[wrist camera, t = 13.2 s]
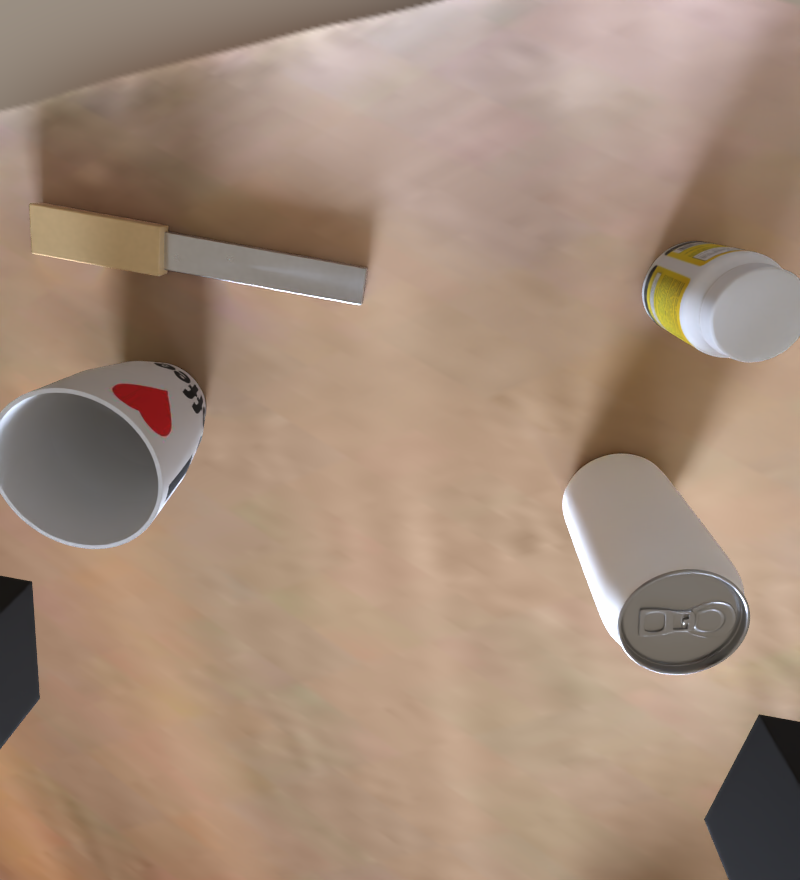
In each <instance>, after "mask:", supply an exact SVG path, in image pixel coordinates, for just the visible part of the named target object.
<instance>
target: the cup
mask: <svg viewBox="0 0 800 880" xmlns="http://www.w3.org/2000/svg"><path fill="white" fill-rule="evenodd" d="M205 414H206V403H205V398H204V395H203V392H202V390H201V388H200V387H199V385H198V384H197V382H196V381H195V380H194V379H193V378H192V377H191V376H190V375H189V374H188V373H187V372H185V371H184V370H182V369H181V368H179V367H177V366H174V365H171V364H168V363H161V362H146V361H129V362H124V363H119V364H114V365H109V366H104V367H99V368H94V369H89V370H85V371H82V372H79V373H77V374H74V375H72V376H69V377H67V378H64V379H62V380H59V381H57V382H54V383H52V384H49V385H47V386H44V387H42V388H39V389H36V390H34V391H31V392H29V393H26V394H24V395H22V396H20V397H18V398H16V399H15V400H13V401H12V402H11V403H9V404H8V405H7V406H6V407H5V408H4V409H3V410H2V412H1V413H0V493H1V495H2V496H3V498H4V499H5V501H6V502H7V503H8V505H9V506H10V507H11V508H12V510H13V511H14V512H15V513H16V514H17V515H18V516H19V517H20V518H21V519H22V520H23V521H25V522H26V523H27V524H28V525H30V526H31V527H32V528H34V529H35V530H37V531H38V532H40V533H41V534H43V535H45V536H47V537H49V538H51V539H53V540H55V541H58V542H60V543H63V544H66V545H70V546H74V547H79V548H87V549H104V548H111V547H115V546H119V545H122V544H125V543H127V542H129V541H131V540H133V539H135V538H136V537H138V536H139V535H140V534H142V533H143V532H144V531H145V530H146V529H147V528H148V527H149V525H150V524H151V523H152V521H153V520H154V519H155V517H156V516H157V514H158V513H159V512H160V510H161V509H162V507H163V506H164V505H165V503H166V502H167V501H168V499H169V498H170V496H171V495H172V494H173V492H174V491H175V489H176V488H177V487H178V485H179V484H180V482H181V481H182V479H183V478H184V476H185V474H186V472H187V470H188V468H189V465H190V463H191V461H192V459H193V457H194V455H195V452H196V450H197V448H198V446H199V444H200V441H201V439H202V435H203V429H204V421H205Z"/></svg>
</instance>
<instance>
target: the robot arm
mask: <svg viewBox="0 0 800 880" xmlns="http://www.w3.org/2000/svg"><path fill="white" fill-rule="evenodd" d="M39 699H40V695H39V680H38V665H37V650H36V635H35V620H34V605H33V590H32V582H31V581H26V580H20V579H15V578H9V577H4V576H0V749H1V747H2V746H3V745H4V744H5V742H6V741H7V740H8V738H9V737H10V736H11V735H12V733H13V732H14V731H15V729H16V728H17V727H18V726H19V724H20V723H21V722H22V721H23V719H24V718H25V717H26V715H27V714H28V713H29V712H30V710H31V709H32V708H33V706H34V705H35V704H36V703H37V701H38V700H39ZM704 820H705V822H706V825H707V827H708V830H709V832H710V835H711V837H712V840H713V842H714V845H715V847H716V849H717V852H718V854H719V857H720V859H721V862H722V864H723V867H724V869H725V872H726V874H727V877H728V879H729V880H800V722H797V721H792V720H786V719H781V718H775V717H770V716H764V715H759V716H758V718H757V720H756V721H755V723H754V725H753V727H752V729H751V731H750V733H749V735H748V737H747V739H746V741H745V742H744V744H743V746H742V748H741V750H740V752H739V754H738V756H737V758H736V760H735V762H734V763H733V765H732V767H731V769H730V771H729V773H728V775H727V777H726V779H725V781H724V783H723V784H722V786H721V788H720V790H719V792H718V794H717V796H716V798H715V800H714V802H713V804H712V805H711V807H710V809H709V811H708V813H707V815H706V817H705V819H704Z"/></svg>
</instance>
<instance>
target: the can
mask: <svg viewBox="0 0 800 880" xmlns="http://www.w3.org/2000/svg"><path fill="white" fill-rule="evenodd" d="M563 513H564V517H565V521H566V524H567V527H568V530H569V532H570V535H571V538H572V541H573V544H574V546H575V549H576V552H577V555H578V557H579V560H580V563H581V566H582V568H583V571H584V574H585V577H586V579H587V582H588V585H589V587H590V590H591V593H592V595H593V598H594V601H595V603H596V606H597V609H598V611H599V614H600V616H601V619H602V621H603V623H604V625H605V627H606V629H607V631H608V632H609V634H610V635H611V636H612V637H613V639H614V640H615V641H616V642H618V643H619V644H620V645H621V646H622V648H623V649H624V651H625V652H626V654H627V655H628V656H629V657H630V658H631V659H632V660H633V661H635V662H636V663H637V664H639V665H640V666H642V667H644V668H646V669H648V670H651V671H654V672H658V673H662V674H670V675H683V674H691V673H696V672H700V671H703V670H706V669H709V668H711V667H713V666H715V665H717V664H719V663H721V662H722V661H724V660H725V659H727V658H728V657H729V656H730V655H731V654H732V653H734V652H735V650H736V649H737V648H738V647H739V646H740V644H741V643H742V641H743V640H744V638H745V636H746V634H747V631H748V628H749V623H750V610H749V605H748V602H747V600H746V598H745V596H744V588H743V583H742V580H741V577H740V575H739V573H738V571H737V570H736V568H735V566H734V565H733V563H732V562H731V560H730V559H729V558H728V556H727V555H726V554H725V552H724V551H723V550H722V548H721V547H720V546H719V544H718V543H717V542H716V540H715V539H714V538H713V536H712V535H711V534H710V532H709V531H708V530H707V528H706V527H705V526H704V525H703V523H702V522H701V521H700V519H699V518H698V517H697V515H696V514H695V513H694V511H693V510H692V509H691V508H690V506H689V505H688V504H687V502H686V501H685V500H684V498H683V497H682V496H681V495H680V493H679V492H678V491H677V489H676V488H675V487H674V486H673V484H672V483H671V482H670V480H669V479H668V478H667V477H666V475H665V474H664V473H663V472H662V471H661V470H660V469H659V468H658V467H657V466H656V465H655V464H654V463H652V462H651V461H649V460H647V459H645V458H643V457H640V456H637V455H632V454H611V455H606V456H603V457H600V458H597V459H595V460H593V461H591V462H589V463H587V464H586V465H584V466H583V467H582V468H581V469H580V470H578V471H577V472H576V473H575V475H574V476H573V477H572V478H571V480H570V481H569V483H568V485H567V487H566V489H565V492H564V496H563Z"/></svg>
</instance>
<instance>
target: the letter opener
mask: <svg viewBox="0 0 800 880" xmlns="http://www.w3.org/2000/svg"><path fill="white" fill-rule="evenodd" d="M29 212H30V231H31V249H32V253H33V254H37V255H43V256H48V257H54V258H59V259H65V260H70V261H76V262H81V263H87V264H92V265H98V266H104V267H109V268H115V269H120V270H126V271H131V272H137V273H142V274H148V275H153V276H161V275H164V274H167V270H169V271H174V272H180V273H185V274H191V275H196V276H202V277H207V278H213V279H218V280H224V281H229V282H235V283H240V284H246V285H251V286H257V287H262V288H268V289H274V290H279V291H285V292H290V293H296V294H301V295H307V296H312V297H318V298H323V299H329V300H334V301H340V302H345V303H351V304H356V305H362V303H363V298H364V291H365V284H366V277H367V270H368V268H367V267H362V266H356V265H351V264H345V263H340V262H334V261H329V260H323V259H318V258H312V257H307V256H301V255H296V254H290V253H285V252H279V251H274V250H268V249H263V248H257V247H252V246H246V245H241V244H235V243H230V242H224V241H219V240H213V239H208V238H202V237H197V236H191V235H186V234H180V233H175V232H169V231H168V229H169V227H168V226H167V225H162V224H157V223H151V222H146V221H140V220H135V219H129V218H124V217H118V216H113V215H107V214H102V213H96V212H91V211H85V210H80V209H74V208H69V207H63V206H58V205H52V204H47V203H30V204H29Z"/></svg>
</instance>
